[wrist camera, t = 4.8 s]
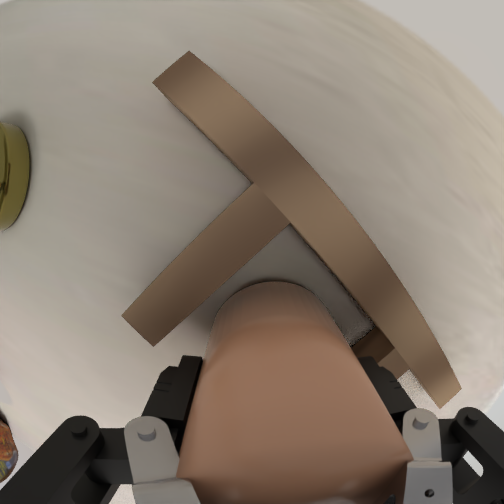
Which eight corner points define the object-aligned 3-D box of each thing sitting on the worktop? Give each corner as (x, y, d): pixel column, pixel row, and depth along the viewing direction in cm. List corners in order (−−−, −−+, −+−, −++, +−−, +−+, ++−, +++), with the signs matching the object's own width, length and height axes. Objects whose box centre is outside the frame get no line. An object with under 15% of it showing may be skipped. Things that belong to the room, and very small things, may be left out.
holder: (70, 215, 13) (42, 220, 10) (199, 73, 11) (188, 50, 9) (337, 451, 16) (344, 474, 14) (444, 370, 15) (461, 388, 12)
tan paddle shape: (210, 278, 12) (145, 433, 4) (340, 282, 13) (453, 411, 4) (216, 438, 15) (202, 557, 6) (308, 438, 15) (332, 552, 6)
